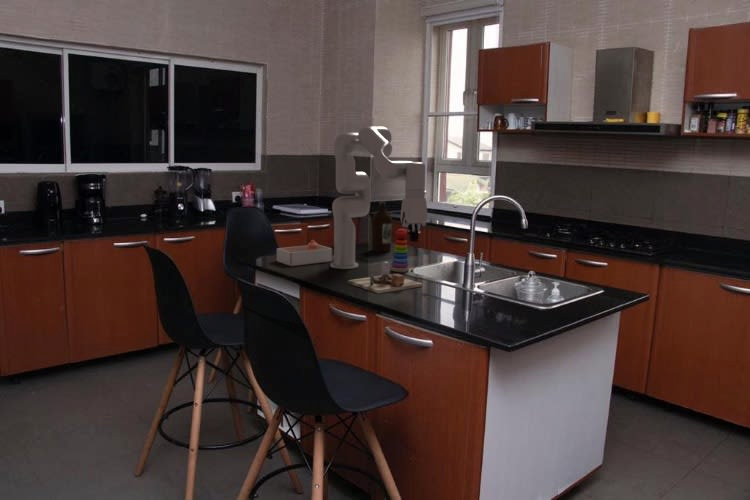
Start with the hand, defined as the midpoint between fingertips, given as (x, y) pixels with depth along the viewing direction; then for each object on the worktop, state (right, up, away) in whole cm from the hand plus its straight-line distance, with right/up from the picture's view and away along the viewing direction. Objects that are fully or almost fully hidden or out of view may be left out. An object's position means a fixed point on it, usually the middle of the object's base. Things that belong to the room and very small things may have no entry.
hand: (413, 241), depth 258 cm
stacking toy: (-4, -13, +33) cm, 36 cm away
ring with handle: (-10, -16, +4) cm, 19 cm away
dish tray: (-48, -9, +50) cm, 70 cm away
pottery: (-49, -9, +49) cm, 70 cm away
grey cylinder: (-14, -17, +4) cm, 22 cm away
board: (-11, -17, +6) cm, 22 cm away
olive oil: (-12, -4, +81) cm, 82 cm away
